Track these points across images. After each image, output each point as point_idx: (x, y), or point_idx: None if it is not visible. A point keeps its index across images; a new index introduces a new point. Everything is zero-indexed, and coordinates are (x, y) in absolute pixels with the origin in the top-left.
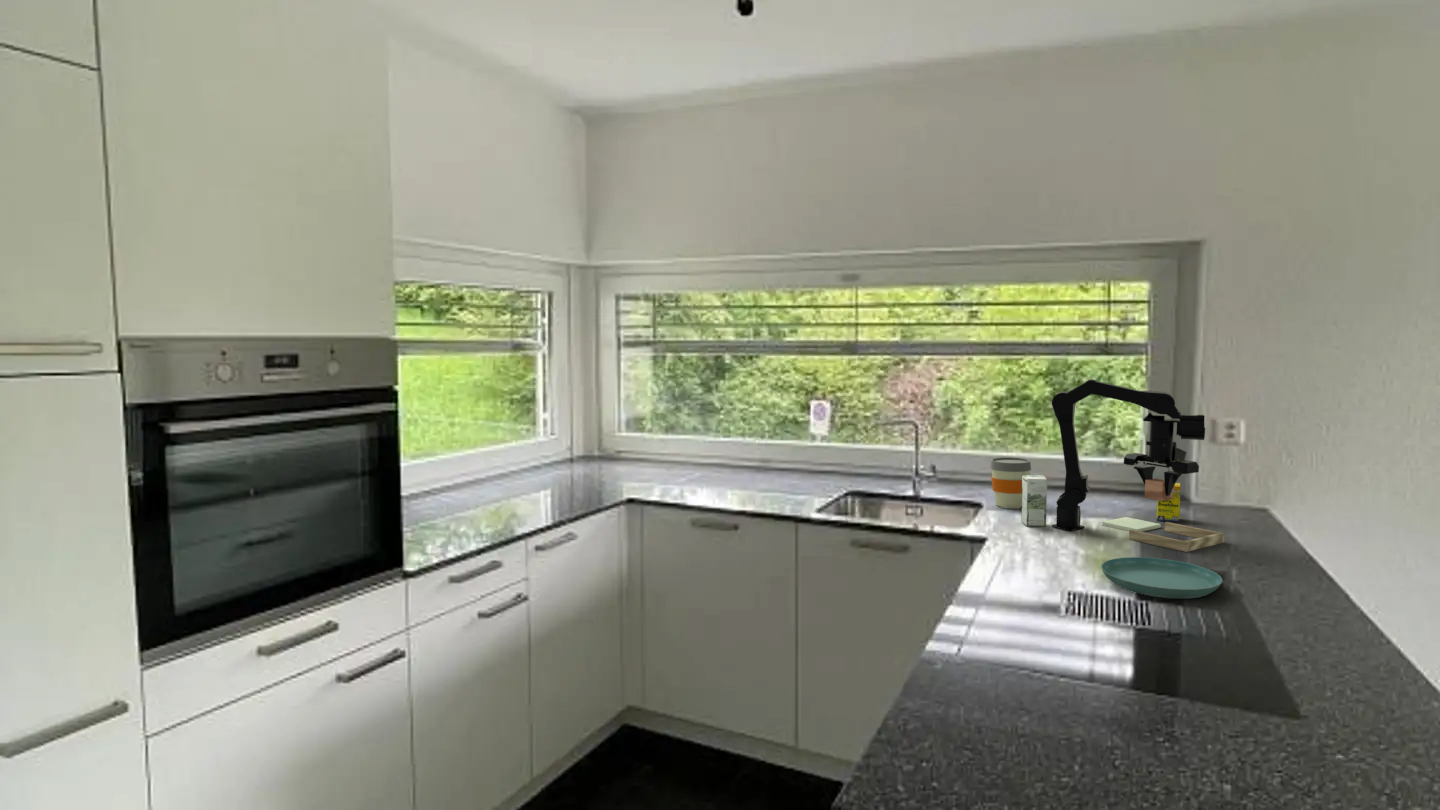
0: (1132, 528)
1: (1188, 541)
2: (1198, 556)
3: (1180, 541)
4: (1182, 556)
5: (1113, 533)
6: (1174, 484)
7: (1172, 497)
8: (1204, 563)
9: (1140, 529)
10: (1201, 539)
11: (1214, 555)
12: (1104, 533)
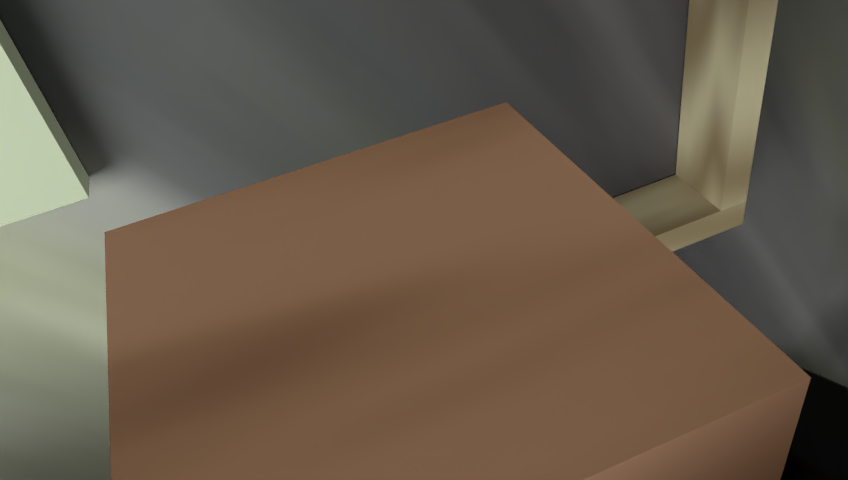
0: (32, 215)
1: (740, 194)
2: (780, 180)
3: (703, 237)
4: (725, 259)
5: (71, 367)
6: (842, 395)
7: (525, 134)
8: (844, 235)
9: (58, 139)
10: (765, 42)
11: (835, 73)
12: (57, 424)
